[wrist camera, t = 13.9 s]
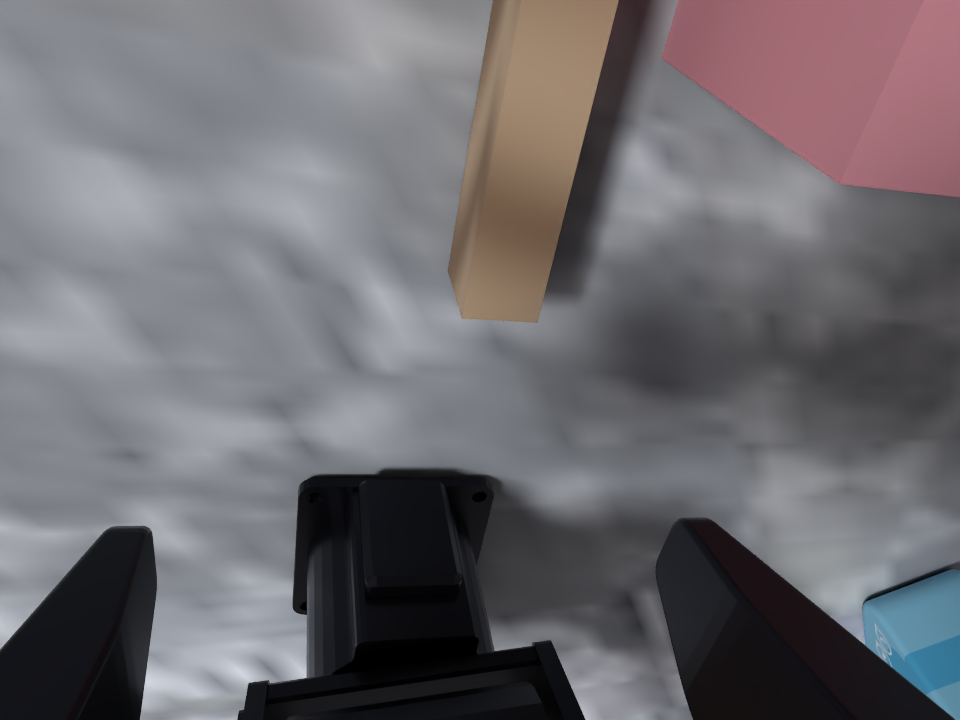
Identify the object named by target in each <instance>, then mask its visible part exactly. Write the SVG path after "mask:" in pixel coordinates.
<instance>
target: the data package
mask: <svg viewBox="0 0 960 720" xmlns="http://www.w3.org/2000/svg"><path fill="white" fill-rule="evenodd" d="M863 621H864V632H865V643H866V647H868V648H869V649H870V650H871V651H873V652H874V653H875V654H876V655H877V656H879V657H880V658H881V659H882V660H884V661H885V662H886V663H887V664H888V665H890V666H891V667H892V668H893V669H895V670H896V671H897V672H898V673H899V674H901V675H902V676H903V677H904V678H906V679H907V680H908V681H909V682H910V683H912V684H913V685H914V686H915V687H917V688H918V689H919V690H920V691H921V692H923V693H924V694H925V695H926V696H927V697H929V698H930V699H931V700H932V701H934V702H935V703H936V704H937V705H938V706H940V707H941V708H942V709H943V710H945V711H946V712H947V713H948V714H949V715H951V716H952V717H953V718H954V719H956V720H960V570H956V569H951V570H948V571H946V572H943V573H940V574H938V575H935V576H932V577H930V578H927V579H924V580H922V581H919V582H916V583H914V584H911V585H908V586H906V587H903V588H900V589H898V590H895V591H892V592H890V593H887V594H885V595H882V596H879V597H877V598H874V599H871V600H869V601H866V602H865V603H864V605H863Z"/></svg>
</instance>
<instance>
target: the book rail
mask: <svg viewBox="0 0 960 720" xmlns="http://www.w3.org/2000/svg"><path fill="white" fill-rule="evenodd" d="M618 1H619V0H493V4H492V10H491V16H490V22H489V28H488V34H487V40H486V46H485V52H484V58H483V64H482V70H481V76H480V82H479V88H478V94H477V100H476V106H475V112H474V118H473V124H472V130H471V136H470V142H469V148H468V154H467V160H466V166H465V172H464V178H463V184H462V190H461V196H460V202H459V208H458V214H457V219H456V225H455V231H454V237H453V243H452V249H451V255H450V261H449V267H448V273H449V276H450V279H451V283H452V286H453V290H454V293H455V296H456V300H457V303H458V306H459V310H460V313H461V317H462V319H479V320H498V321H517V322H536V323H537V322H538V318H539V314H540V310H541V306H542V302H543V298H544V294H545V290H546V286H547V282H548V278H549V274H550V270H551V266H552V262H553V258H554V254H555V251H556V247H557V243H558V239H559V235H560V231H561V227H562V223H563V219H564V215H565V211H566V207H567V203H568V199H569V195H570V191H571V187H572V183H573V179H574V175H575V171H576V167H577V163H578V159H579V156H580V152H581V148H582V144H583V140H584V136H585V132H586V128H587V124H588V120H589V116H590V112H591V108H592V104H593V100H594V96H595V92H596V88H597V84H598V80H599V76H600V72H601V68H602V64H603V61H604V57H605V53H606V49H607V45H608V41H609V37H610V33H611V29H612V25H613V21H614V17H615V13H616V9H617V5H618Z"/></svg>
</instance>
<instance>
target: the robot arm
mask: <svg viewBox="0 0 960 720" xmlns="http://www.w3.org/2000/svg"><path fill="white" fill-rule="evenodd" d="M480 491H481V493H478V494H475V493H476V492H480ZM313 492H317V493H319V494H315V495H312V494H310V493H313ZM493 497H494V493H493V489H492V485H491V483H490V482H489V481H488V480H486V479H483V478H311V479H307V480H305V481H303V482H302V483H301V484H300V486H299V491H298V510H297V529H296V548H295V567H294V586H293V610H294V611H295V612H296V613H299V614H304V615H307V678H304V679H297V680H290V681H283V682H276V683H270V682H269V680H267V681H260V682H253V683H249V684H248V690H247V696H246V701H245V707H244V710H240V711H239V714H238V720H585V718H584V716H583V713H582V711H581V709H580V706H579V704H578V702H577V699H576V697H575V695H574V692H573V690H572V688H571V686H570V683H569V681H568V679H567V676H566V674H565V672H564V669H563V667H562V665H561V663H560V660H559V658H558V656H557V653H556V651H555V649H554V646H553V644H552V642H551V640H548V641H541V642H534V643H532V646H529V647H522V648H515V649H508V650H501V651H495V650H494V646H493V641H492V637H491V632H490V627H489V623H488V618H487V614H486V609H485V604H484V600H483V595H482V591H481V586H480V581H479V577H478V572H477V568H476V565H477V561H478V557H479V553H480V549H481V545H482V541H483V537H484V533H485V529H486V525H487V521H488V517H489V513H490V509H491V505H492V501H493ZM656 580H657V584H658V588H659V593H660V597H661V601H662V605H663V609H664V613H665V617H666V621H667V626H668V630H669V634H670V638H671V642H672V646H673V650H674V654H675V659H676V663H677V667H678V671H679V675H680V679H681V682H682V686H683V690H684V693H685V697H686V700H687V703H688V706H689V709H690V712H691V715H692V718H693V720H956V719H954V718H953V717H952V716H951V715H949V714H948V713H947V712H946V711H945V710H943V709H942V708H941V707H940V706H938V705H937V704H936V703H935V702H934V701H932V700H931V699H930V698H929V697H927V696H926V695H925V694H924V693H923V692H921V691H920V690H919V689H918V688H917V687H915V686H914V685H913V684H912V683H910V682H909V681H908V680H907V679H906V678H904V677H903V676H902V675H901V674H899V673H898V672H897V671H896V670H895V669H893V668H892V667H891V666H890V665H888V664H887V663H886V662H885V661H884V660H882V659H881V658H880V657H879V656H877V655H876V654H875V653H874V652H873V651H871V650H870V649H869V648H868V647H866V646H865V645H864V644H863V643H862V642H860V641H859V640H858V639H857V638H856V637H854V636H853V635H852V634H851V633H849V632H848V631H847V630H846V629H845V628H843V627H842V626H841V625H840V624H838V623H837V622H836V621H835V620H834V619H832V618H831V617H830V616H829V615H827V614H826V613H825V612H824V611H823V610H821V609H820V608H819V607H818V606H816V605H815V604H814V603H813V602H812V601H810V600H809V599H808V598H807V597H805V596H804V595H803V594H802V593H801V592H799V591H798V590H797V589H796V588H794V587H793V586H792V585H791V584H790V583H788V582H787V581H786V580H785V579H784V578H782V577H781V576H780V575H779V574H777V573H776V572H775V571H774V570H773V569H771V568H770V567H769V566H768V565H766V564H765V563H764V562H763V561H762V560H760V559H759V558H758V557H757V556H755V555H754V554H753V553H752V552H751V551H749V550H748V549H747V548H746V547H744V546H743V545H742V544H741V543H740V542H738V541H737V540H736V539H735V538H733V537H732V536H731V535H730V534H729V533H727V532H726V531H725V530H724V529H723V528H721V527H720V526H719V525H718V524H716V523H715V522H714V521H712V520H710V519H708V518H680V519H678V520H677V521H676V522H675V523H674V524H673V526H672V528H671V530H670V532H669V535H668V537H667V539H666V541H665V544H664V546H663V548H662V550H661V552H660V555H659V557H658V559H657V563H656ZM156 590H157V574H156V564H155V555H154V545H153V536H152V532H151V530H150V528H148V527H146V526H115V527H111V528H109V529H107V530H106V531H104V532H103V534H102V535H101V536H100V537H99V538H98V539H97V540H96V541H95V543H94V544H93V545H92V546H91V547H90V548H89V549H88V551H87V552H86V553H85V554H84V555H83V556H82V557H81V559H80V560H79V561H78V562H77V563H76V564H75V565H74V566H73V568H72V569H71V570H70V571H69V572H68V573H67V574H66V576H65V577H64V578H63V579H62V580H61V581H60V582H59V584H58V585H57V586H56V587H55V588H54V589H53V590H52V591H51V593H50V594H49V595H48V596H47V597H46V598H45V599H44V601H43V602H42V603H41V604H40V605H39V606H38V607H37V608H36V610H35V611H34V612H33V613H32V614H31V615H30V616H29V618H28V619H27V620H26V621H25V622H24V623H23V624H22V626H21V627H20V628H19V629H18V630H17V631H16V632H15V633H14V635H13V636H12V637H11V638H10V639H9V640H8V641H7V643H6V644H5V645H4V646H3V647H2V648H1V649H0V720H140V714H141V707H142V699H143V691H144V684H145V676H146V669H147V661H148V653H149V646H150V638H151V631H152V623H153V615H154V608H155V600H156Z"/></svg>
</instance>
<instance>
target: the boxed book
mask: <svg viewBox="0 0 960 720" xmlns="http://www.w3.org/2000/svg"><path fill="white" fill-rule="evenodd" d="M662 59H663V60H665V61H666V62H667V63H669V64H670V65H672V66H673V67H674V68H676V69H677V70H679V71H680V72H682V73H683V74H684V75H686V76H687V77H689V78H690V79H691V80H693V81H694V82H696V83H697V84H698V85H700V86H701V87H703V88H704V89H706V90H707V91H708V92H710V93H711V94H713V95H714V96H715V97H717V98H718V99H720V100H721V101H723V102H724V103H725V104H727V105H728V106H730V107H731V108H732V109H734V110H735V111H737V112H738V113H740V114H741V115H742V116H744V117H745V118H747V119H748V120H749V121H751V122H752V123H754V124H755V125H756V126H758V127H759V128H761V129H762V130H764V131H765V132H766V133H768V134H769V135H771V136H772V137H773V138H775V139H776V140H778V141H779V142H781V143H782V144H783V145H785V146H786V147H788V148H789V149H790V150H792V151H793V152H795V153H796V154H798V155H799V156H800V157H802V158H803V159H805V160H806V161H807V162H809V163H810V164H812V165H813V166H814V167H816V168H817V169H819V170H820V171H822V172H823V173H824V174H826V175H827V176H829V177H830V178H831V179H833V180H834V181H836V182H837V183H839V184H843V185H853V186H862V187H871V188H880V189H889V190H898V191H907V192H916V193H925V194H934V195H943V196H952V197H960V0H679V1H678V5H677V8H676V12H675V15H674V18H673V22H672V25H671V29H670V32H669V35H668V39H667V42H666V46H665V49H664V52H663V56H662Z"/></svg>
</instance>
